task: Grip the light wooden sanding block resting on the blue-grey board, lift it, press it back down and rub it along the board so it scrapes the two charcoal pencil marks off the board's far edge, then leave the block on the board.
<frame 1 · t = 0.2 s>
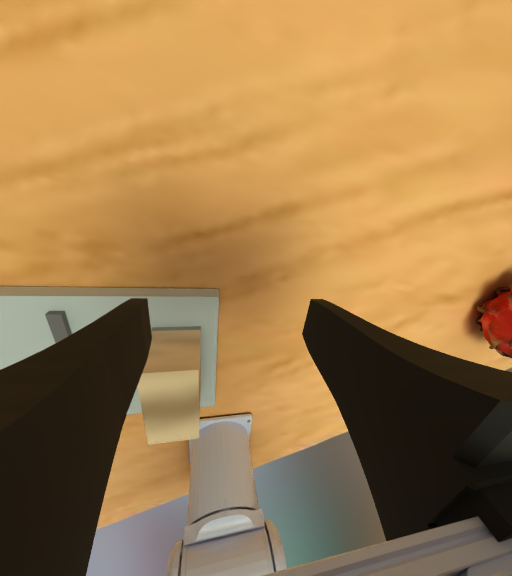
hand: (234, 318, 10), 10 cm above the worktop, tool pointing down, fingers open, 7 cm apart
pencil mark b: (63, 329, 17), point 1 cm above the worktop, touching board
board: (108, 353, 21), on the worktop
dragon fruit: (491, 304, 29), on the worktop
sanding block: (179, 361, 21), point 1 cm above the worktop, touching board
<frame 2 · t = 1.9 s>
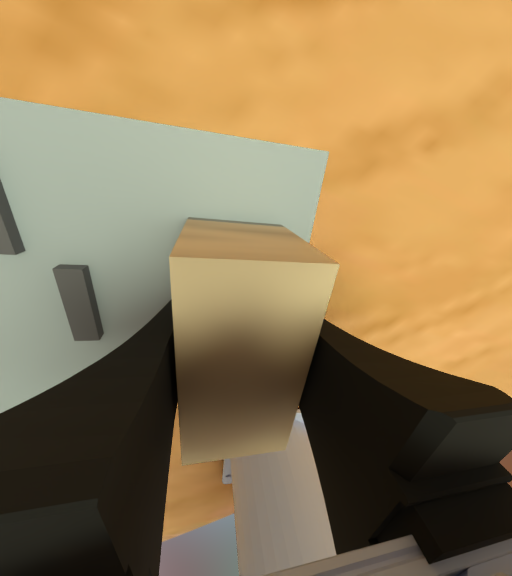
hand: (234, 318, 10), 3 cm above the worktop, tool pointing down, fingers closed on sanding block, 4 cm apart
pencil mark a: (83, 302, 10), point 1 cm above the worktop, touching board
board: (98, 286, 11), on the worktop
sanding block: (231, 302, 11), point 1 cm above the worktop, touching board, gripper
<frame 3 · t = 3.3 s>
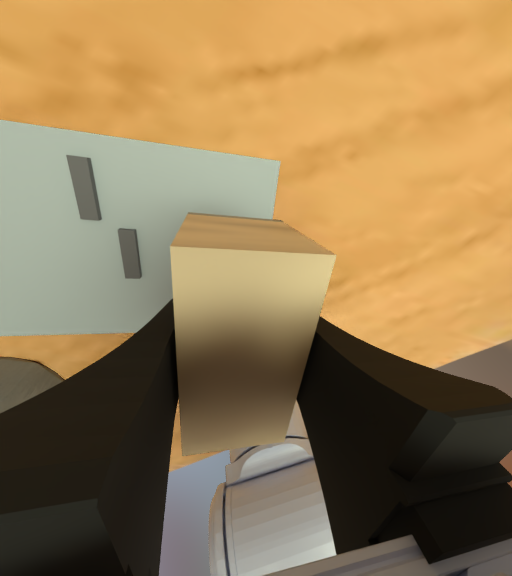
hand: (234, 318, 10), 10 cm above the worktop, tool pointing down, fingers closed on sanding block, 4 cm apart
coffeepot: (3, 385, 21), on the worktop
pencil mark b: (87, 189, 14), point 1 cm above the worktop, touching board
pencil mark a: (131, 253, 16), point 1 cm above the worktop, touching board
board: (137, 247, 17), on the worktop
sanding block: (230, 297, 11), point 8 cm above the worktop, touching gripper
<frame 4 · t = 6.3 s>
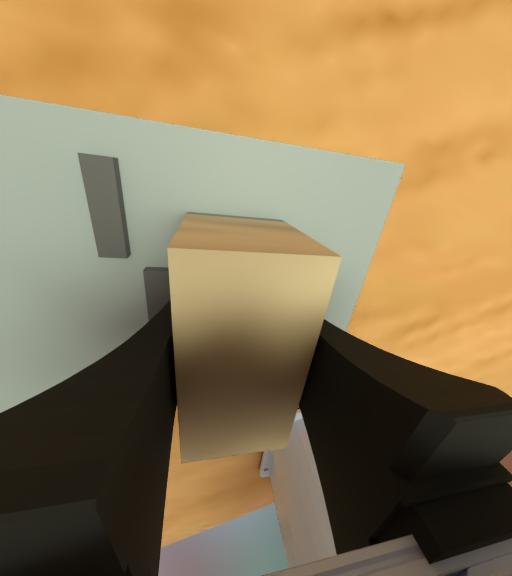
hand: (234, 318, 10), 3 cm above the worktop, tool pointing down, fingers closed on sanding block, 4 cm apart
pencil mark b: (110, 209, 8), point 1 cm above the worktop, touching board
pencil mark a: (161, 301, 10), point 1 cm above the worktop, touching board
board: (175, 287, 12), on the worktop
sanding block: (231, 298, 11), point 2 cm above the worktop, touching gripper
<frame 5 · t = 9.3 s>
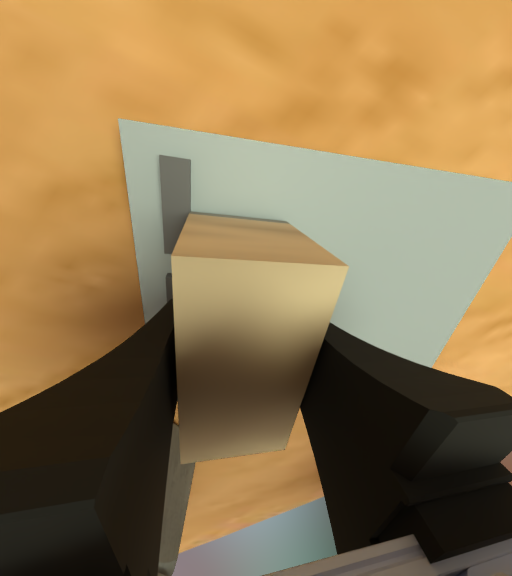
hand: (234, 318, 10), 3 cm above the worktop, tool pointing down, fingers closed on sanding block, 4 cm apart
coffeepot: (126, 447, 17), on the worktop
pencil mark b: (177, 208, 9), point 2 cm above the worktop, touching board, sanding block
pencil mark a: (180, 306, 11), point 1 cm above the worktop, touching board, sanding block
board: (323, 290, 14), on the worktop
sanding block: (232, 299, 11), point 2 cm above the worktop, touching gripper, pencil mark a, pencil mark b
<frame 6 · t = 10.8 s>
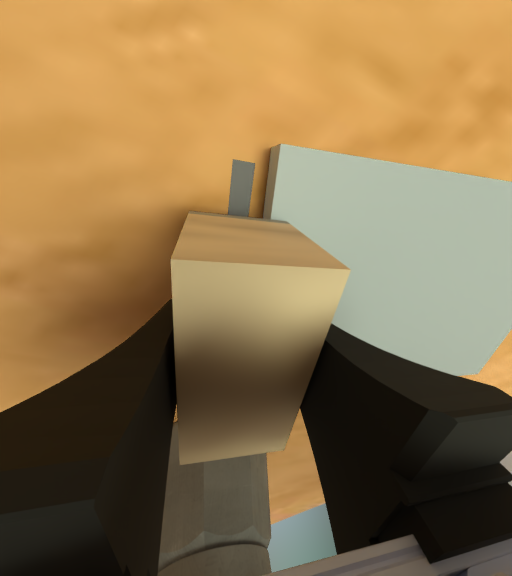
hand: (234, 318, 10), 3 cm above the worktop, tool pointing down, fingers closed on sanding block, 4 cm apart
coffeepot: (200, 437, 18), on the worktop
pencil mark b: (239, 203, 11), on the worktop, tilted 179°
board: (398, 291, 15), on the worktop
sanding block: (231, 299, 11), point 2 cm above the worktop, touching gripper
when the fingers open (3 cm above the worktop, at t = 14.1 s): sanding block stays where it is, resting on board.
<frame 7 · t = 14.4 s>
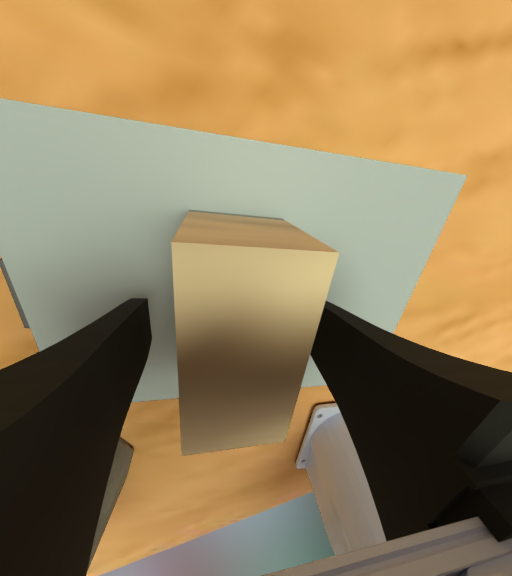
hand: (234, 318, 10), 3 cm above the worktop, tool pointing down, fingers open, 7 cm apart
coffeepot: (54, 453, 16), on the worktop
pencil mark a: (33, 291, 11), on the worktop, tilted 90°
board: (245, 287, 13), on the worktop
sanding block: (231, 296, 11), point 1 cm above the worktop, touching board
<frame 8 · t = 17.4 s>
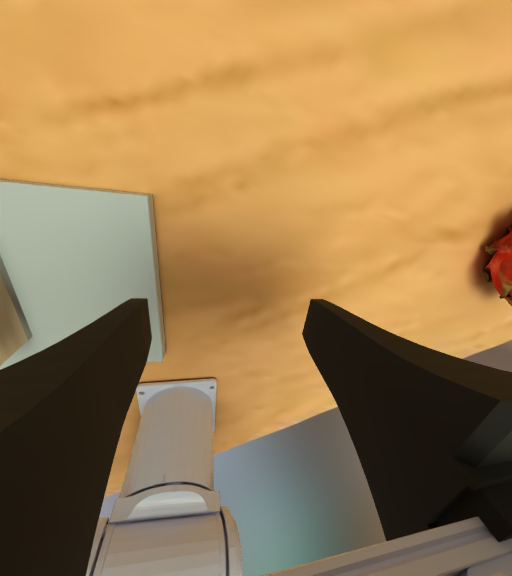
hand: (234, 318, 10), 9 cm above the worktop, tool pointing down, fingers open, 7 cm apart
board: (14, 282, 16), on the worktop
dragon fruit: (501, 248, 24), on the worktop
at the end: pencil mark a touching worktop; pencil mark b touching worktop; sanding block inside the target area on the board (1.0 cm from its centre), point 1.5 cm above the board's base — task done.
